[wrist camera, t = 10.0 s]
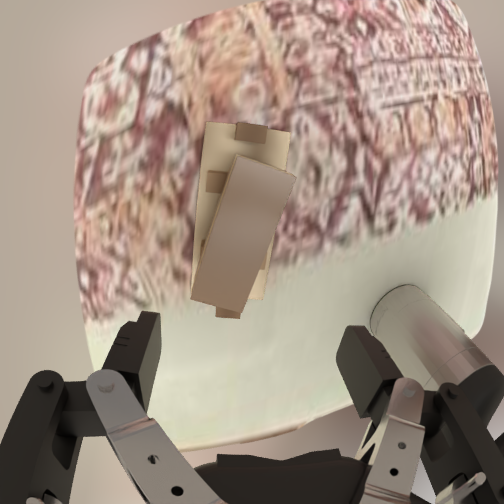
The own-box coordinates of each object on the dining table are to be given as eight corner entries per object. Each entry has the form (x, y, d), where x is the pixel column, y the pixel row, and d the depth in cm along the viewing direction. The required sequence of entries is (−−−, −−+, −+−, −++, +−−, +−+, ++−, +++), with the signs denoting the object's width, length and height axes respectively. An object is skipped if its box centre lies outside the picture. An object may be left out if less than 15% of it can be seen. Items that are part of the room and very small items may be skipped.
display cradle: (288, 132, 27) (301, 132, 22) (261, 295, 33) (267, 320, 29) (206, 122, 26) (203, 118, 21) (191, 289, 32) (187, 314, 28)
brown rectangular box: (284, 169, 25) (297, 177, 21) (239, 285, 29) (242, 313, 25) (235, 152, 24) (237, 155, 20) (194, 272, 28) (189, 299, 24)
